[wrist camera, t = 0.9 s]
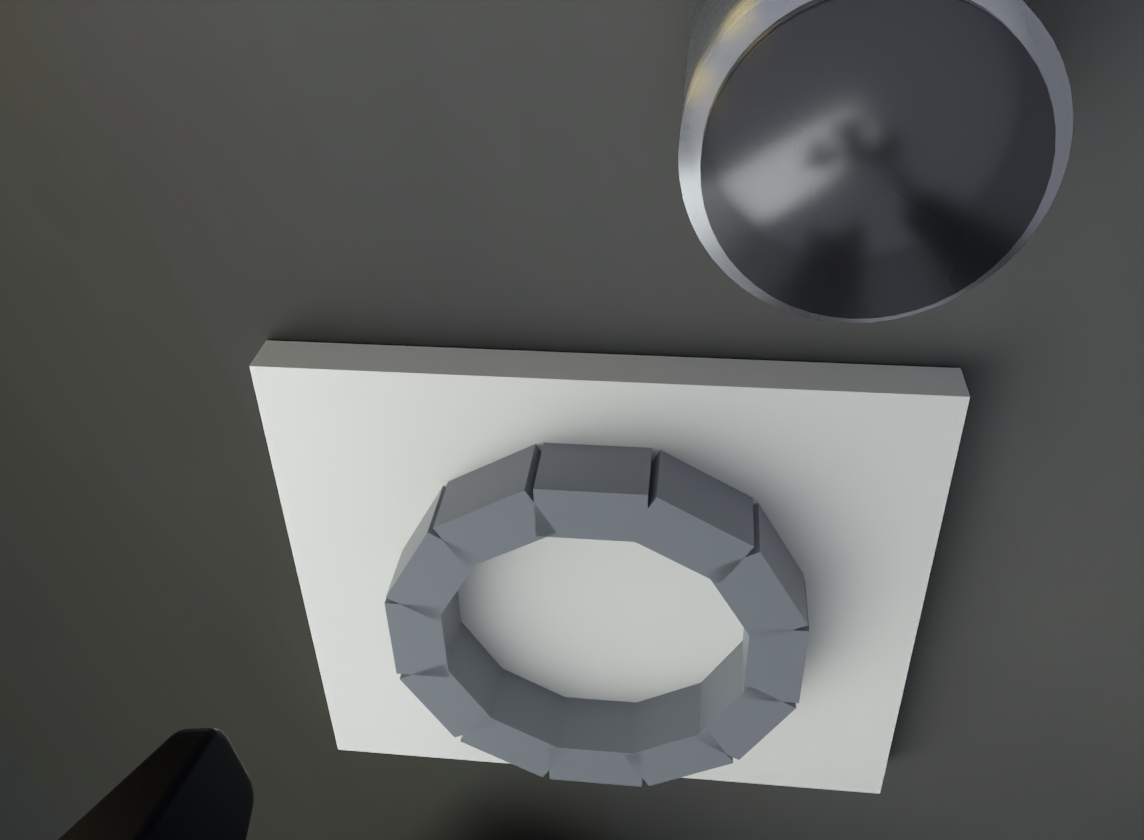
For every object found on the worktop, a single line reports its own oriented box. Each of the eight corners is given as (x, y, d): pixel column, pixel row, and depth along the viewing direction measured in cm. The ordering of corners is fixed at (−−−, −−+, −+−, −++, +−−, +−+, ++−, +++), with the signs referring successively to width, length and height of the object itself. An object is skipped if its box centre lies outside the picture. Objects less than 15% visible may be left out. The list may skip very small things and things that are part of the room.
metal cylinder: (1029, -115, 16) (1130, -37, 12) (967, 197, 19) (1032, 344, 15) (694, -113, 17) (684, -38, 13) (682, 190, 20) (671, 330, 16)
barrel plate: (960, 367, 21) (985, 444, 19) (875, 760, 28) (886, 847, 26) (266, 340, 23) (221, 408, 20) (348, 719, 29) (320, 798, 27)
